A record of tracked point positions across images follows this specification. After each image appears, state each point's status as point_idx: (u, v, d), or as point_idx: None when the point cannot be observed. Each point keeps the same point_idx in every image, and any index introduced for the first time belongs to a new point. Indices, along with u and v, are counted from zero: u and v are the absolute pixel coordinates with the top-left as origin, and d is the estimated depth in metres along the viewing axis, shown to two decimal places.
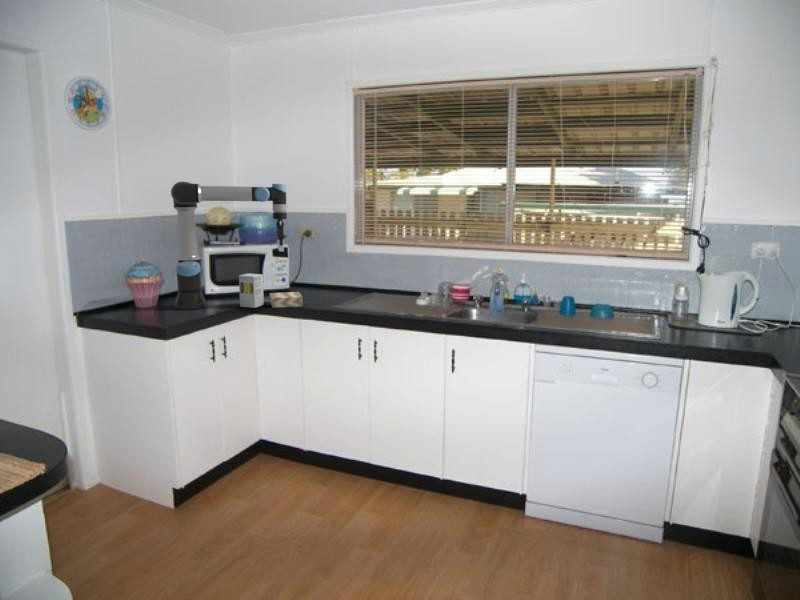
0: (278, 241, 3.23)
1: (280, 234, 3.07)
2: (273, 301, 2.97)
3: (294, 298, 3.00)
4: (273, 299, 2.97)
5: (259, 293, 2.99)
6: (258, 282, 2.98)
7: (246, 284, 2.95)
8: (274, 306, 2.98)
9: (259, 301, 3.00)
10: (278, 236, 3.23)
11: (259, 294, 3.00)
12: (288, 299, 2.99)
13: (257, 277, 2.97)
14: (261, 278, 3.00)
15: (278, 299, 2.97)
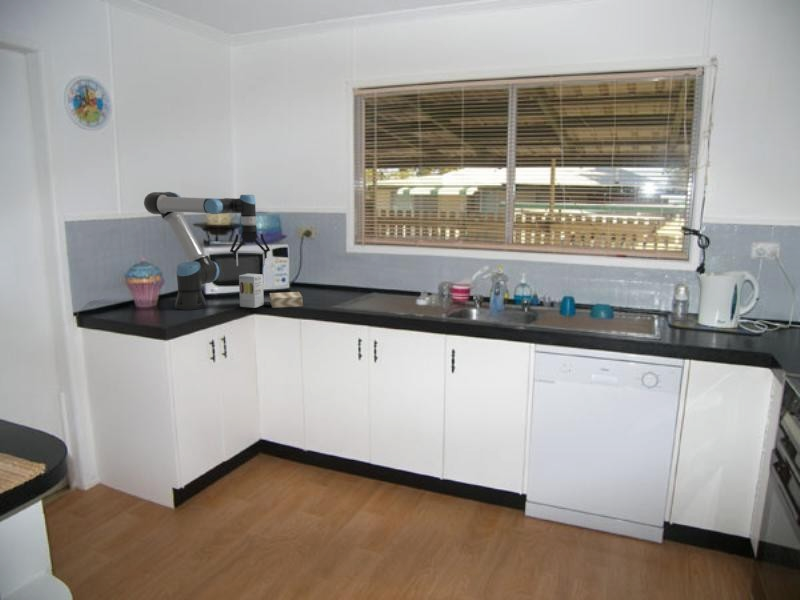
0: None
1: (231, 247, 2.94)
2: (273, 301, 2.97)
3: (294, 298, 3.00)
4: (273, 299, 2.97)
5: (259, 293, 2.99)
6: (258, 282, 2.98)
7: (246, 284, 2.95)
8: (274, 306, 2.98)
9: (259, 301, 3.00)
10: (264, 251, 2.99)
11: (259, 294, 3.00)
12: (288, 299, 2.99)
13: (257, 277, 2.97)
14: (261, 278, 3.00)
15: (278, 299, 2.97)
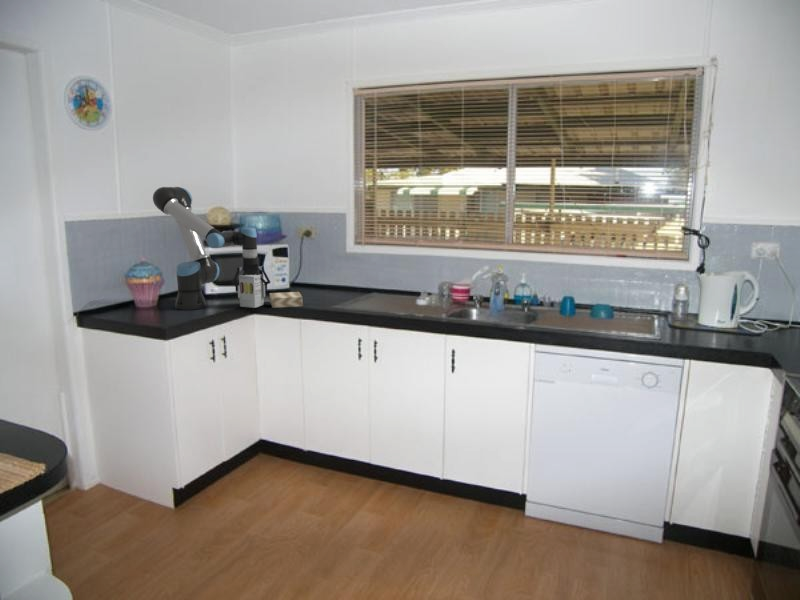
0: (263, 288, 3.03)
1: None
2: (273, 301, 2.97)
3: (294, 298, 3.00)
4: (273, 299, 2.97)
5: (259, 293, 2.99)
6: (258, 282, 2.98)
7: (246, 284, 2.95)
8: (274, 306, 2.98)
9: (259, 301, 3.00)
10: None
11: (259, 294, 3.00)
12: (288, 299, 2.99)
13: (257, 277, 2.97)
14: None
15: (278, 299, 2.97)
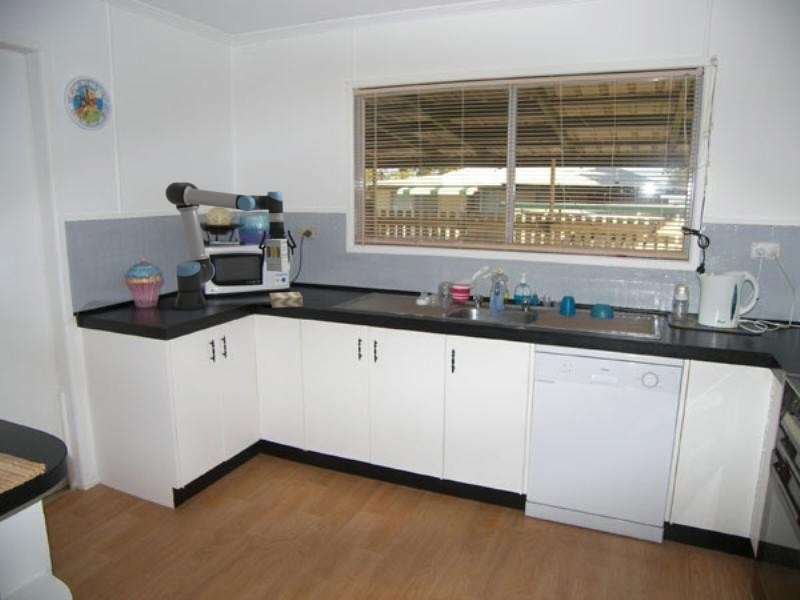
0: None
1: None
2: (273, 301, 2.97)
3: (294, 298, 3.00)
4: (273, 299, 2.97)
5: (286, 257, 3.00)
6: (285, 246, 2.98)
7: (272, 248, 2.96)
8: (274, 306, 2.98)
9: (286, 265, 3.00)
10: (290, 247, 3.03)
11: (286, 258, 3.00)
12: (288, 299, 2.99)
13: (283, 241, 2.97)
14: None
15: (278, 299, 2.97)
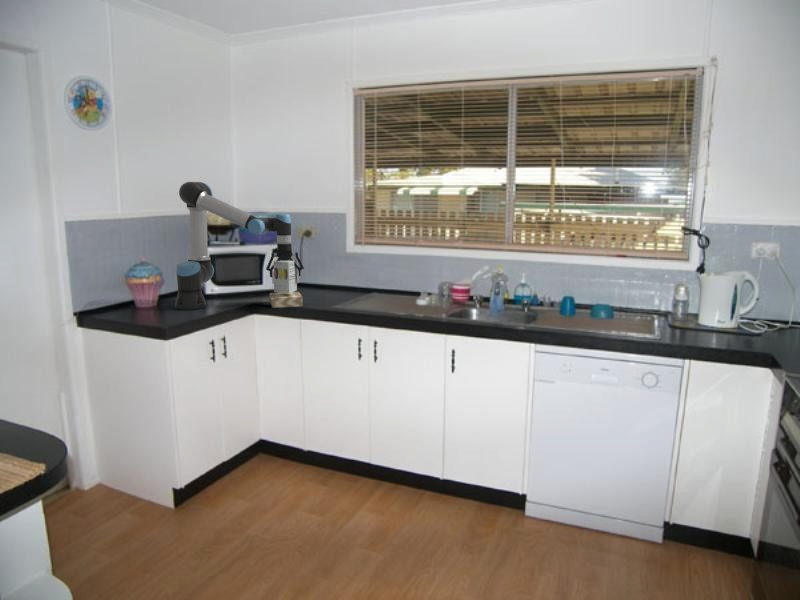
0: None
1: (267, 265, 3.01)
2: (273, 301, 2.97)
3: (294, 298, 3.00)
4: (273, 299, 2.97)
5: (293, 278, 3.03)
6: (292, 268, 3.02)
7: (280, 270, 2.99)
8: (274, 306, 2.98)
9: (293, 287, 3.04)
10: None
11: (293, 280, 3.03)
12: (288, 299, 2.99)
13: (291, 263, 3.00)
14: None
15: (278, 299, 2.97)
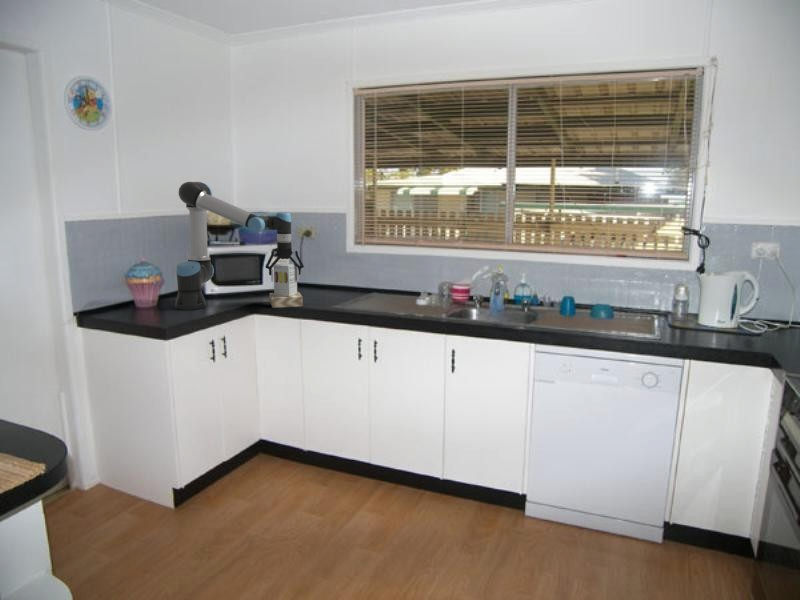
0: None
1: None
2: (273, 301, 2.97)
3: (294, 298, 3.00)
4: (273, 299, 2.97)
5: (293, 282, 3.04)
6: (292, 271, 3.02)
7: (280, 273, 3.00)
8: (274, 306, 2.98)
9: (293, 290, 3.04)
10: (298, 267, 3.06)
11: (293, 283, 3.04)
12: (288, 299, 2.99)
13: (291, 266, 3.01)
14: (295, 267, 3.05)
15: (278, 299, 2.97)
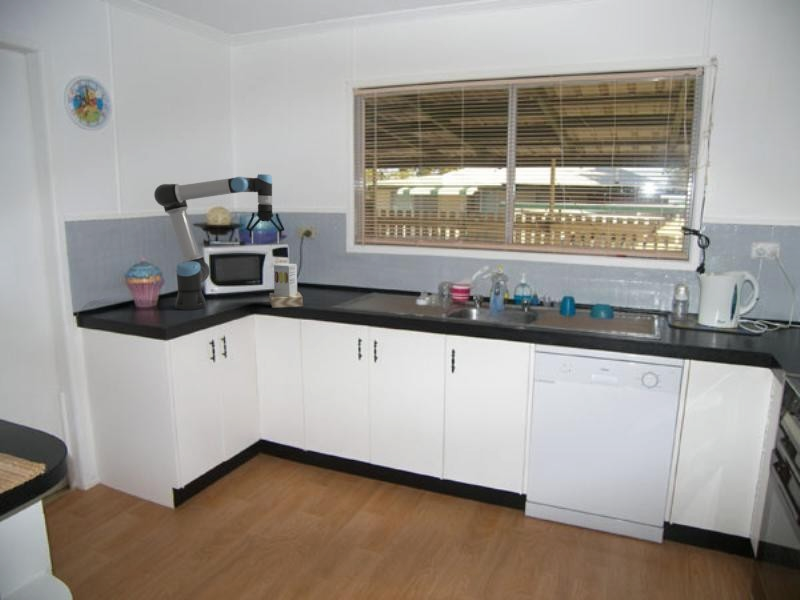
0: (277, 235, 3.08)
1: (247, 225, 3.02)
2: (273, 301, 2.97)
3: (294, 298, 3.00)
4: (273, 299, 2.97)
5: (293, 282, 3.04)
6: (293, 272, 3.02)
7: (280, 273, 3.00)
8: (274, 306, 2.98)
9: (293, 290, 3.05)
10: None
11: (293, 283, 3.04)
12: (288, 299, 2.99)
13: (292, 266, 3.01)
14: (295, 268, 3.05)
15: (278, 299, 2.97)
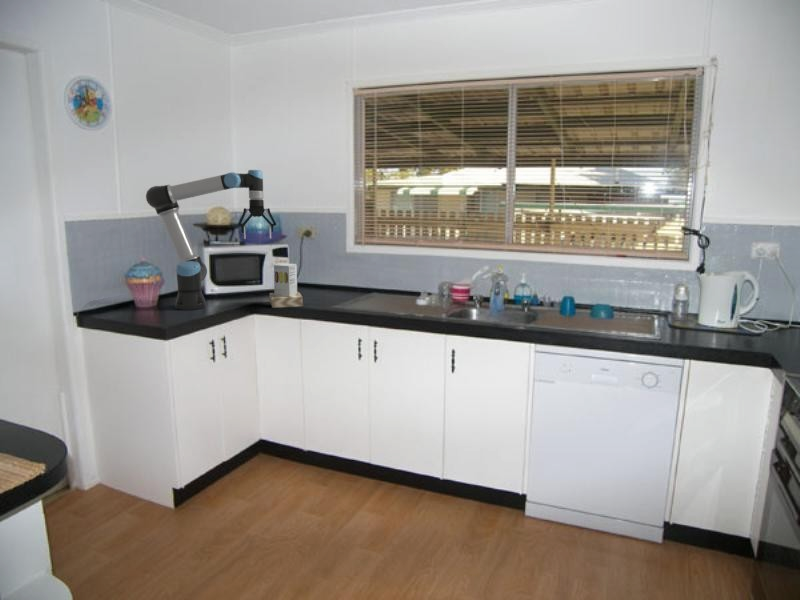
0: (269, 230, 3.10)
1: (239, 221, 3.04)
2: (273, 301, 2.97)
3: (294, 298, 3.00)
4: (273, 299, 2.97)
5: (293, 282, 3.04)
6: (293, 272, 3.02)
7: (280, 273, 3.00)
8: (274, 306, 2.98)
9: (293, 290, 3.05)
10: (270, 225, 3.09)
11: (293, 283, 3.04)
12: (288, 299, 2.99)
13: (292, 266, 3.01)
14: (295, 268, 3.05)
15: (278, 299, 2.97)
